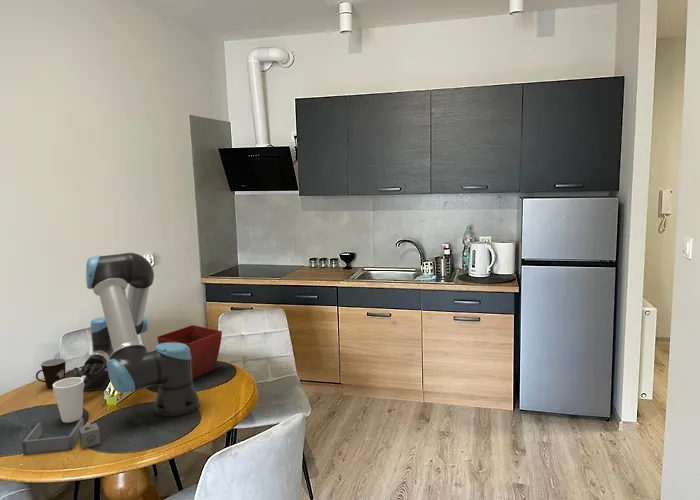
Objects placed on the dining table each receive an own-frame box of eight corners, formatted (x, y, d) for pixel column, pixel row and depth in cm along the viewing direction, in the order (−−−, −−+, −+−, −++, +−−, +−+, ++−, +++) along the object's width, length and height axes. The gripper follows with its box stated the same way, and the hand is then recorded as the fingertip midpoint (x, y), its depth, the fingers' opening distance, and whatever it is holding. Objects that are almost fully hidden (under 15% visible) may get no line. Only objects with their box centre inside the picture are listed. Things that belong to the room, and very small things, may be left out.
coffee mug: (64, 379, 218) (61, 356, 217) (71, 385, 212) (68, 361, 211) (32, 388, 210) (29, 364, 209) (38, 394, 204) (35, 369, 203)
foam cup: (92, 416, 185) (89, 380, 183) (66, 427, 177) (62, 390, 175) (77, 410, 190) (73, 375, 188) (51, 420, 182) (47, 384, 180)
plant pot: (190, 384, 210) (187, 343, 208) (159, 375, 221) (155, 336, 218) (225, 369, 226) (223, 331, 224) (195, 361, 236) (192, 324, 234)
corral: (84, 429, 175) (83, 418, 174) (72, 449, 162) (70, 436, 162) (39, 434, 172) (38, 422, 172) (23, 454, 160) (22, 442, 159)
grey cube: (80, 442, 167) (78, 427, 166) (97, 437, 169) (96, 422, 169) (82, 449, 163) (81, 433, 162) (100, 443, 165) (99, 428, 165)
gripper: (114, 370, 217) (99, 394, 194) (80, 373, 215) (60, 397, 192) (113, 352, 216) (97, 374, 193) (78, 355, 214) (58, 377, 191)
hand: (79, 386), depth 193 cm, fingers closed
